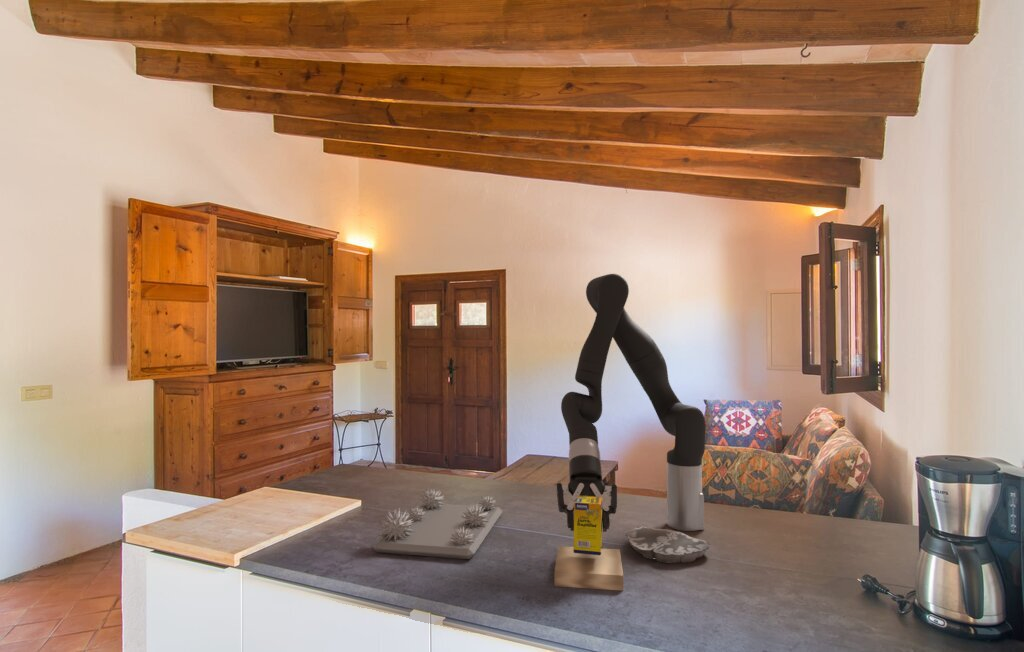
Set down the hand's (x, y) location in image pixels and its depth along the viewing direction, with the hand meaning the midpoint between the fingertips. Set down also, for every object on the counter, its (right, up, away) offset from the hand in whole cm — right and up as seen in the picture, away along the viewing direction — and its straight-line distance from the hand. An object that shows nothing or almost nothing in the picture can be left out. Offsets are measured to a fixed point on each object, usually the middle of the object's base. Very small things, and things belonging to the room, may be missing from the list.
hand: (588, 529), depth 116 cm
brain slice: (+20, -11, +13) cm, 27 cm away
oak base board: (0, -10, +1) cm, 10 cm away
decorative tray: (-35, -12, +27) cm, 46 cm away
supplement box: (0, -5, +1) cm, 5 cm away
